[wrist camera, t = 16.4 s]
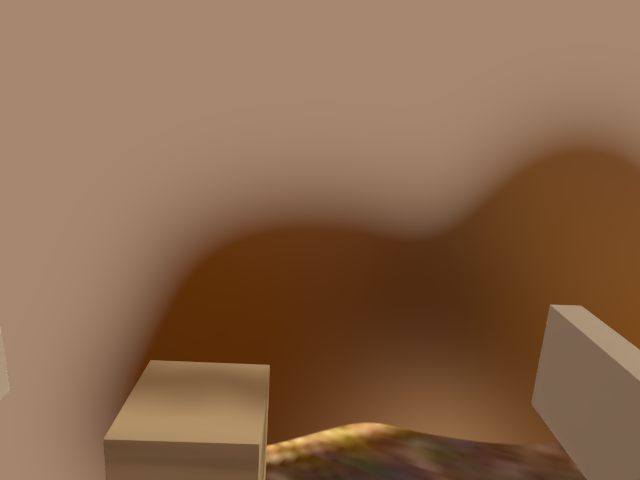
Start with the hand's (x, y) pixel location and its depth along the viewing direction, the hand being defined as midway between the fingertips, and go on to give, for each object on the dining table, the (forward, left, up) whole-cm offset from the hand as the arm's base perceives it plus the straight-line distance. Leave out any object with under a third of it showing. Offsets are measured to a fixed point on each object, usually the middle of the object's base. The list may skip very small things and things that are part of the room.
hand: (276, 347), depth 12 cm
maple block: (+9, -1, -19) cm, 21 cm away
